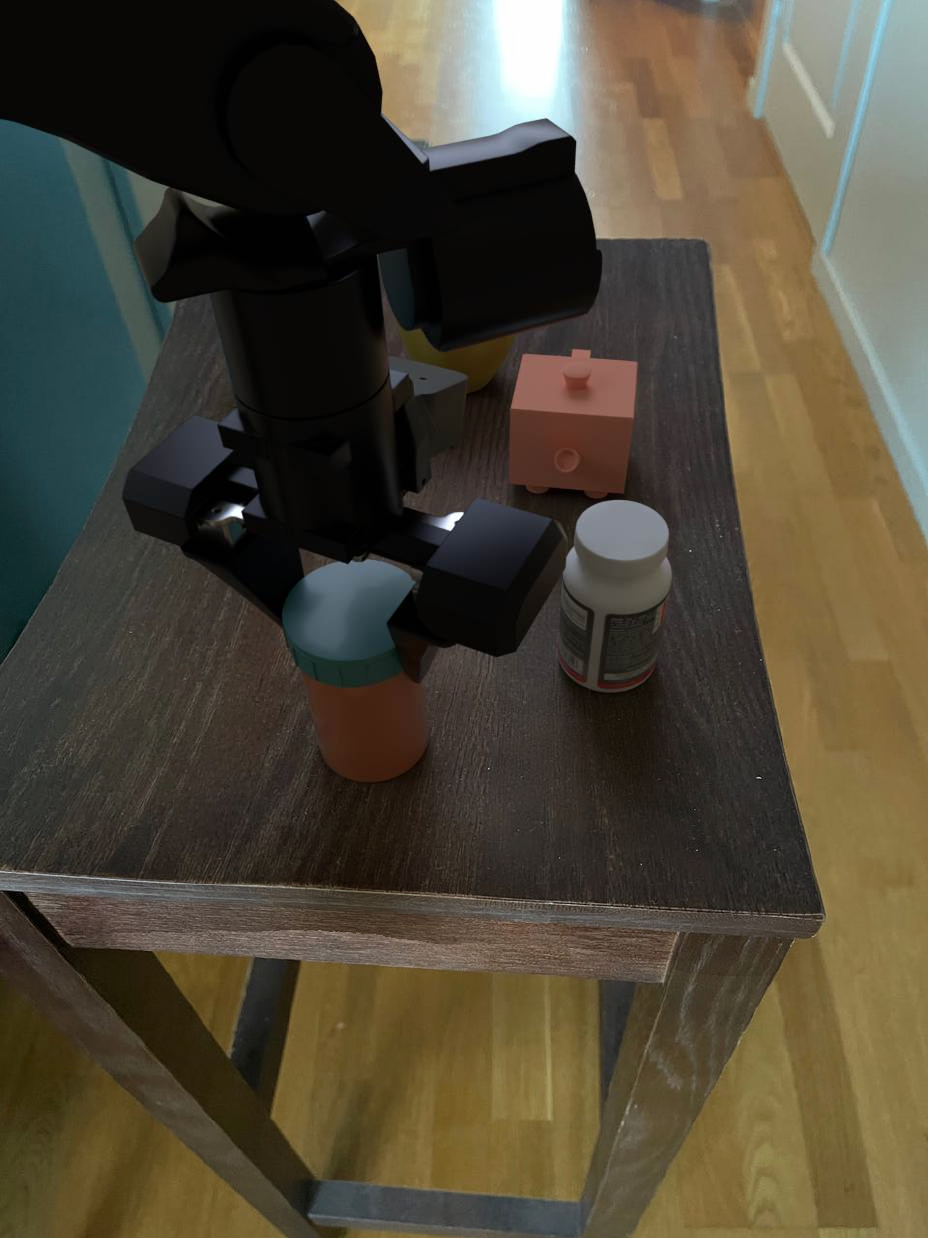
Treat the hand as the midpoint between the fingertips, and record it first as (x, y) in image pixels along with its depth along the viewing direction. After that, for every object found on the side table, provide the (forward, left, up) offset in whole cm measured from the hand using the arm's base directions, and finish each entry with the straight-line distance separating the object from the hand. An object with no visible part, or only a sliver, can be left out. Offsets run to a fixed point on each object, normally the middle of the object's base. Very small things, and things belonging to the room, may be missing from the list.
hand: (361, 653), depth 45 cm
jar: (0, 0, -7) cm, 7 cm away
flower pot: (+22, +28, -7) cm, 36 cm away
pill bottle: (+14, -2, -7) cm, 16 cm away
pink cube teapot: (+22, +13, -7) cm, 26 cm away
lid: (0, 0, +3) cm, 3 cm away
